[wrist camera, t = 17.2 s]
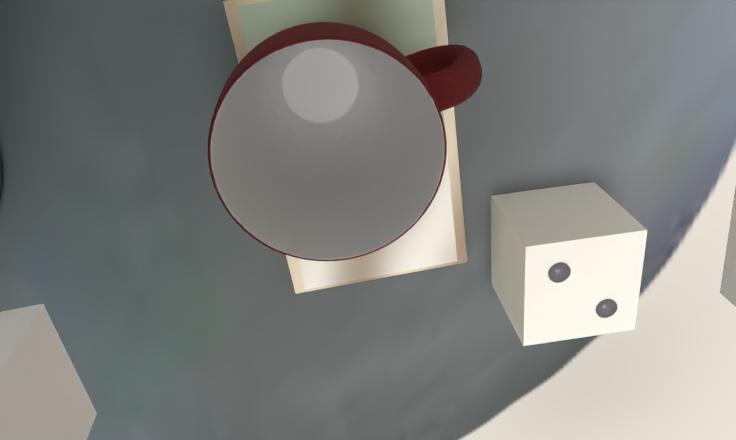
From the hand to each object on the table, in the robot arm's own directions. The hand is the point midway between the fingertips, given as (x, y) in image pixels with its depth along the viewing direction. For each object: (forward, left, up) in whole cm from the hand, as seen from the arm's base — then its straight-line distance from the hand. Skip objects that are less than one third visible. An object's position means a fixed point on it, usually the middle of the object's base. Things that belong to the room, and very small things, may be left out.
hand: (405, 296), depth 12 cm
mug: (0, 0, -20) cm, 20 cm away
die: (+10, -12, -21) cm, 26 cm away
